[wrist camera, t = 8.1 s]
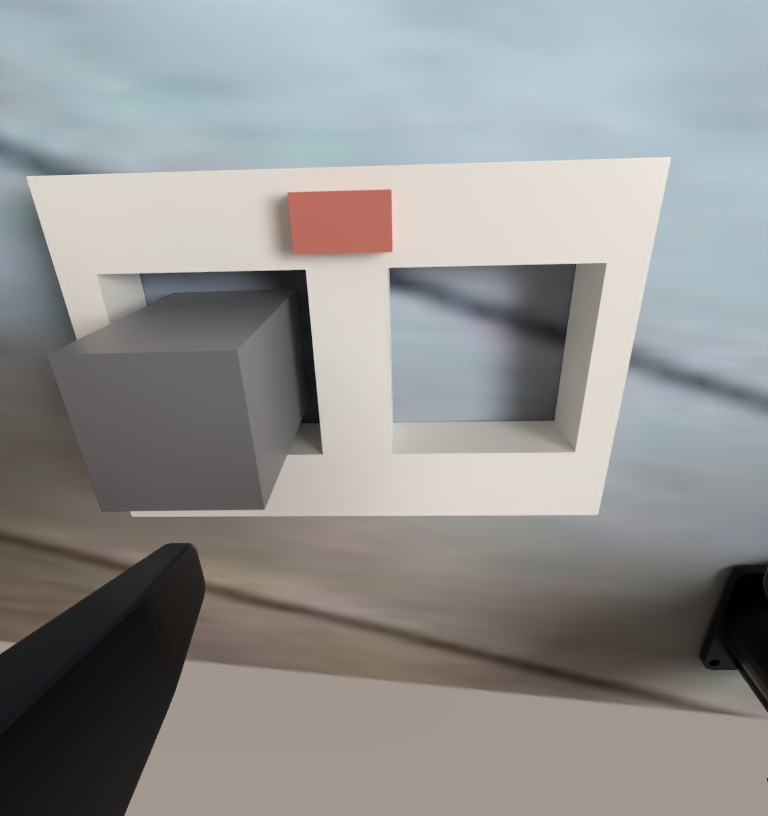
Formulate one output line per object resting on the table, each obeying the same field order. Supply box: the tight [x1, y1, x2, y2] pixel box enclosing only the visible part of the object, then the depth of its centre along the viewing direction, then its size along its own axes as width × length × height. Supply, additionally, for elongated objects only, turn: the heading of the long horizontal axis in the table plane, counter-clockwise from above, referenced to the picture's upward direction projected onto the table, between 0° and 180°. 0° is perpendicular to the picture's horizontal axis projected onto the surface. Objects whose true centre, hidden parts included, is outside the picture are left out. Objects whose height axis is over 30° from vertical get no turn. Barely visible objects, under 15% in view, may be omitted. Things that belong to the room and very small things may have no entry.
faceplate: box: [26, 157, 671, 517], centre depth 17 cm, size 12×18×3 cm, turn 91°
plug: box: [47, 289, 309, 512], centre depth 15 cm, size 4×4×7 cm
